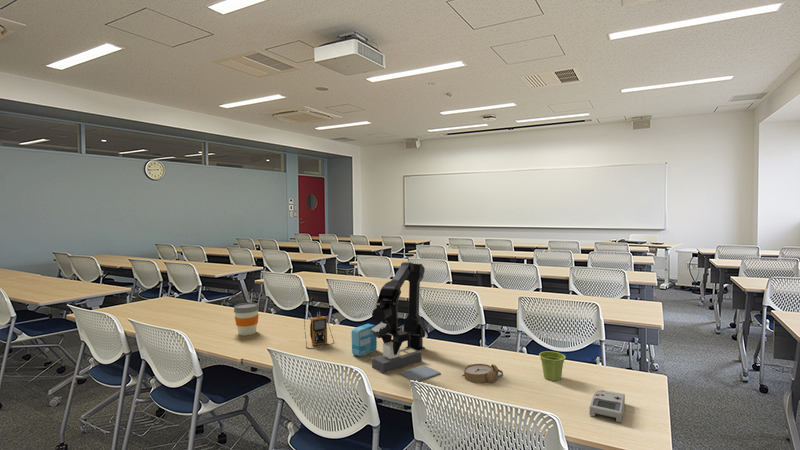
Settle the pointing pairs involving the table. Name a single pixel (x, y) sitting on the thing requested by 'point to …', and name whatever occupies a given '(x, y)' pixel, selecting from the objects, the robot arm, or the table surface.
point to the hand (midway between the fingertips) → (391, 353)
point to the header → (397, 360)
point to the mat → (420, 373)
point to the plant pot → (552, 365)
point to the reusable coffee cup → (246, 318)
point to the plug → (389, 351)
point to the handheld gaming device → (608, 404)
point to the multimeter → (318, 329)
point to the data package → (363, 340)
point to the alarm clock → (481, 373)
